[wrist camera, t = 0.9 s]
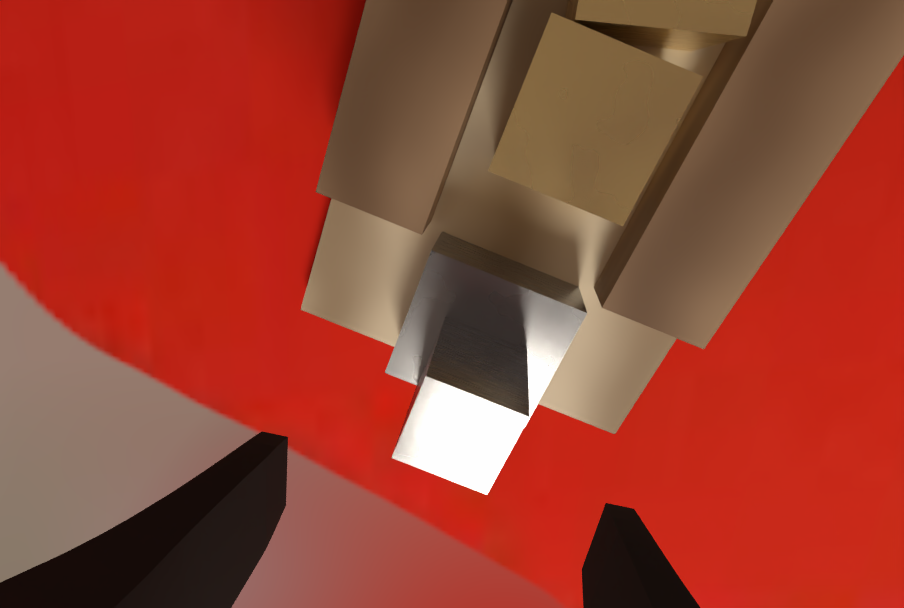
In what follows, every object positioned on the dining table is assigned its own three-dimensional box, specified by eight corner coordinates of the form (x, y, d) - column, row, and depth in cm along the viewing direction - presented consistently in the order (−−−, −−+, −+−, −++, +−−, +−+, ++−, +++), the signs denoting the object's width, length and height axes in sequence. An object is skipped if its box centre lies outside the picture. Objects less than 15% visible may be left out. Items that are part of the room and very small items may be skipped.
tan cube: (660, 81, 16) (703, 76, 12) (600, 199, 17) (623, 226, 14) (543, 32, 16) (551, 12, 12) (494, 155, 17) (488, 171, 14)
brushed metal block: (578, 286, 19) (607, 375, 13) (523, 391, 21) (526, 510, 15) (441, 231, 19) (406, 294, 13) (399, 342, 20) (351, 441, 15)
